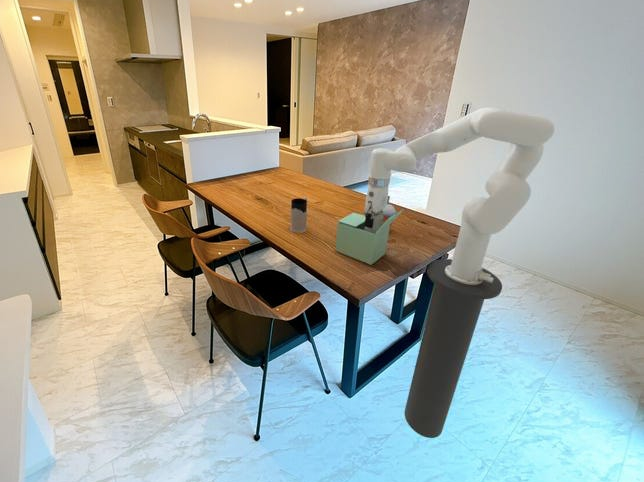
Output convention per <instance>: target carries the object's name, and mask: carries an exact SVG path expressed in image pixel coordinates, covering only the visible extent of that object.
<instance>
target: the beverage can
mask: <svg viewBox="0 0 644 482" xmlns="http://www.w3.org/2000/svg"><path fill="white" fill-rule="evenodd" d="M370 210H371V211H372V209H370ZM369 213H370V214H372V212H369ZM373 219H374V221H373V228H368V227H364V231H367V232H370V233H373V234H376V232H377V230H378V229H379V228H380V227H381V226H382V222H383V213H382V212H380V211H379V212H378V213H374V216H373Z"/></svg>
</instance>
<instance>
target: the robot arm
mask: <svg viewBox="0 0 644 482" xmlns="http://www.w3.org/2000/svg"><path fill="white" fill-rule="evenodd" d="M554 133H555V125H554V123H553V121H552V120H551V119H549V118H548V117H545V116H542V115H535V114H529V113H523V112H516V111H512V110H506V109H502V108H499V107H498V108H497V107H492V106H491V107H490V106H486V107H485V106H484V107H482V108H479V109H476V110H473V111H472V112H470V113H468V114H466V115H464V116H463V117H461V118H460V117H459V119H456V120H455V121H453V122H450V123H448V124H445V126H442V127H440V128H438V129H435V130H434V131H431V132H429V133H427V134H424V135H422V136H420V137H417V138H415V139H413V140H411V141H409V142H407V143H405V144H403V145H401V146H400V147H398V148H397V149H396V150H395V151H394V150H392V149H391V148H385V147H381V148H380V147H378V148H374V149H373V150H372V151H371V156H370V164H369V172H368V180H367V191H366V197H365V202H364V203H365V204H364V210H363V213H364V214H363V215H364V216H365V227H368V228H373V221H374V219H373V216H374V213H378V212H379V211H380V212H382V213H383V209H385V208H386V207H387V200H388V196H389V186H390V178H391V173H392V171H394V172H398V173H399V172H400V173H408V172H410V171H412V170H413V169H414V168H415V167H416V164H417V161H418V160H420V159H423V158H425V157H428V156H431V155H433V154H441V153H448V152H452V151H455V150H456V149H458V148H461V147H463V146H465V145H467V144H469V143H472V142H474V141H476V140H479V139H481V138H486V139H491V140H495V141H500V142H504V143H507V144H508V143H509V149H508V152H507V153H506V156H505V157H504V159H502V161H501V163H500V164H499V165H498V166H497V168H496V169H495V170H494V172H493V173H492V174H491V175H490V177H489V178H488V179H487V181H486V182H485V185H484V186H485V191H486V193H487V194H488V195H489V197H484V196H475V197H472V198H471V199H469V200H467V202H466V203H465V204H464V206H463V209H462V214H461V221H460V227H459V232H458V236H457V239H456V242H455V247H454V251H453V254H452V258H451V259H452V263H451V265H449V266H447V267H446V268H445V273H446V275H447V276H448V277H449V278H451V279H452V280H454V281H457V282H459V283H462V284H467V285H478V284H480V283H482V281H483V280H485V281H487V282H490V283H492V282H493V279H494V278H492V277H490V276H491V275H490V274H487V273H484V272H483V271H482V269H483V268H484V267H483V263H484V260H485V256H486V253H487V249H488V246H489V245H490V240H491V236H492V235H496V234H498V233H500V232H502V231H503V230H504V229H505V228H506V227H507V226H508V225H509V224H510V223H511V222H512V221H513V219H514V218H515V217H516V216H517V215H518V214H519V213H520V211H521V210H522V209H523V208H524V207H525V206H526V205H527V203H528V202H529V200H530V197H531V193H532V189H531V185H530V184H529V183H528V181H526V180H527V179H528V177H529V176H530V175H531V173H532V172H533V171H534V169H536V167H537V166H538V164H539V163H540V161H541V159H542V157H543V154H544V144H546V143H547V142H549V140H551V138H552V137H553V136H554ZM371 210H372V211H371ZM369 212H372V214H370V213H369Z"/></svg>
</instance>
